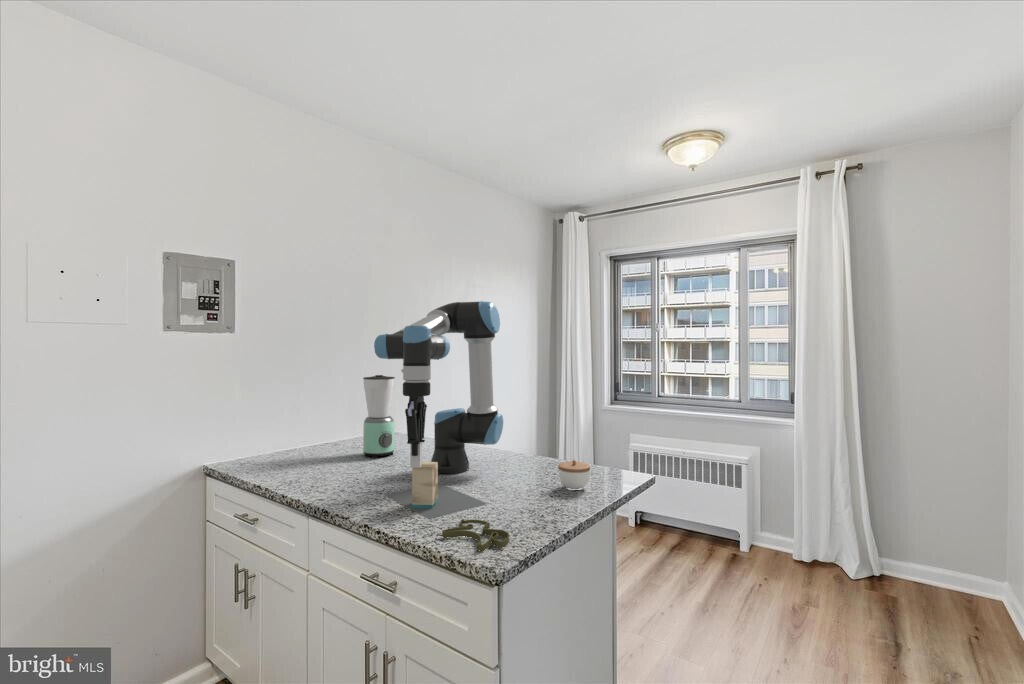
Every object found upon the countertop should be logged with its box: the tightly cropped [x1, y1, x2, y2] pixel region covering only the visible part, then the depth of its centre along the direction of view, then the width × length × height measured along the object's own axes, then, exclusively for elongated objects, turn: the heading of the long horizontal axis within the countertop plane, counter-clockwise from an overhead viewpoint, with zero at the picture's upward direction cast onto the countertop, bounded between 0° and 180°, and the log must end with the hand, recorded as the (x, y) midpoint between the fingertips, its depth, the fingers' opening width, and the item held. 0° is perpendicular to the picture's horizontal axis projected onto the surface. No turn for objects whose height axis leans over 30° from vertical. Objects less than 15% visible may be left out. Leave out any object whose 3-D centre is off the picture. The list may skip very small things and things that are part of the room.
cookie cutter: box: [441, 519, 510, 552], centre depth 121 cm, size 18×12×2 cm, turn 50°
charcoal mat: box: [384, 482, 488, 520], centre depth 148 cm, size 20×28×1 cm
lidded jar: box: [557, 459, 591, 489], centre depth 163 cm, size 11×11×9 cm
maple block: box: [411, 461, 439, 509], centre depth 143 cm, size 6×6×12 cm
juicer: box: [362, 374, 396, 459], centre depth 213 cm, size 19×13×35 cm
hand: (415, 466), depth 133 cm, fingers closed
